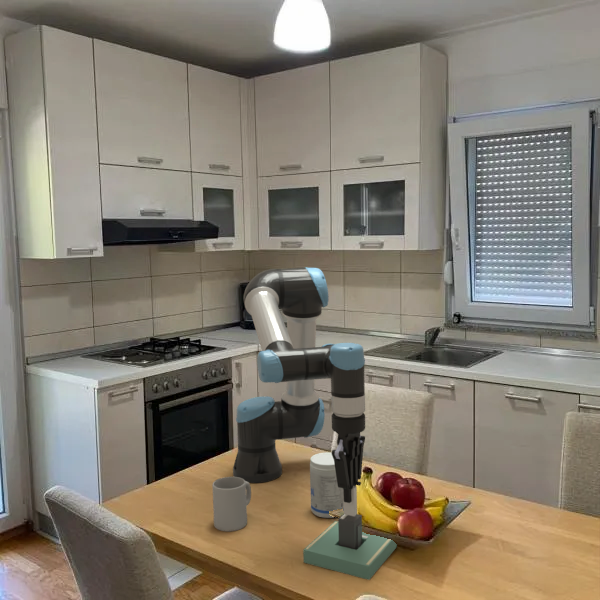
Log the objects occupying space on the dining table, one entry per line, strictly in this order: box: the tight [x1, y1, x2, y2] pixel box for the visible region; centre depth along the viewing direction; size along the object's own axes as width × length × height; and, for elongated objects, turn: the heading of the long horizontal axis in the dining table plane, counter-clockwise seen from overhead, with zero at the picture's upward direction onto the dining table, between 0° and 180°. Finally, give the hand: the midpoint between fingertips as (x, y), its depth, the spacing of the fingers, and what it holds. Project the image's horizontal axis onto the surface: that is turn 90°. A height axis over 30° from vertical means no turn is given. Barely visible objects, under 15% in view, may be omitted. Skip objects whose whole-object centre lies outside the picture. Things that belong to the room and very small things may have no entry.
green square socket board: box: [302, 520, 398, 581], centre depth 145 cm, size 16×16×3 cm
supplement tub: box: [309, 451, 343, 519], centre depth 167 cm, size 10×10×15 cm
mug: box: [211, 476, 252, 532], centre depth 163 cm, size 12×8×11 cm
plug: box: [337, 513, 363, 550], centre depth 145 cm, size 4×4×9 cm
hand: (350, 513), depth 144 cm, fingers closed
